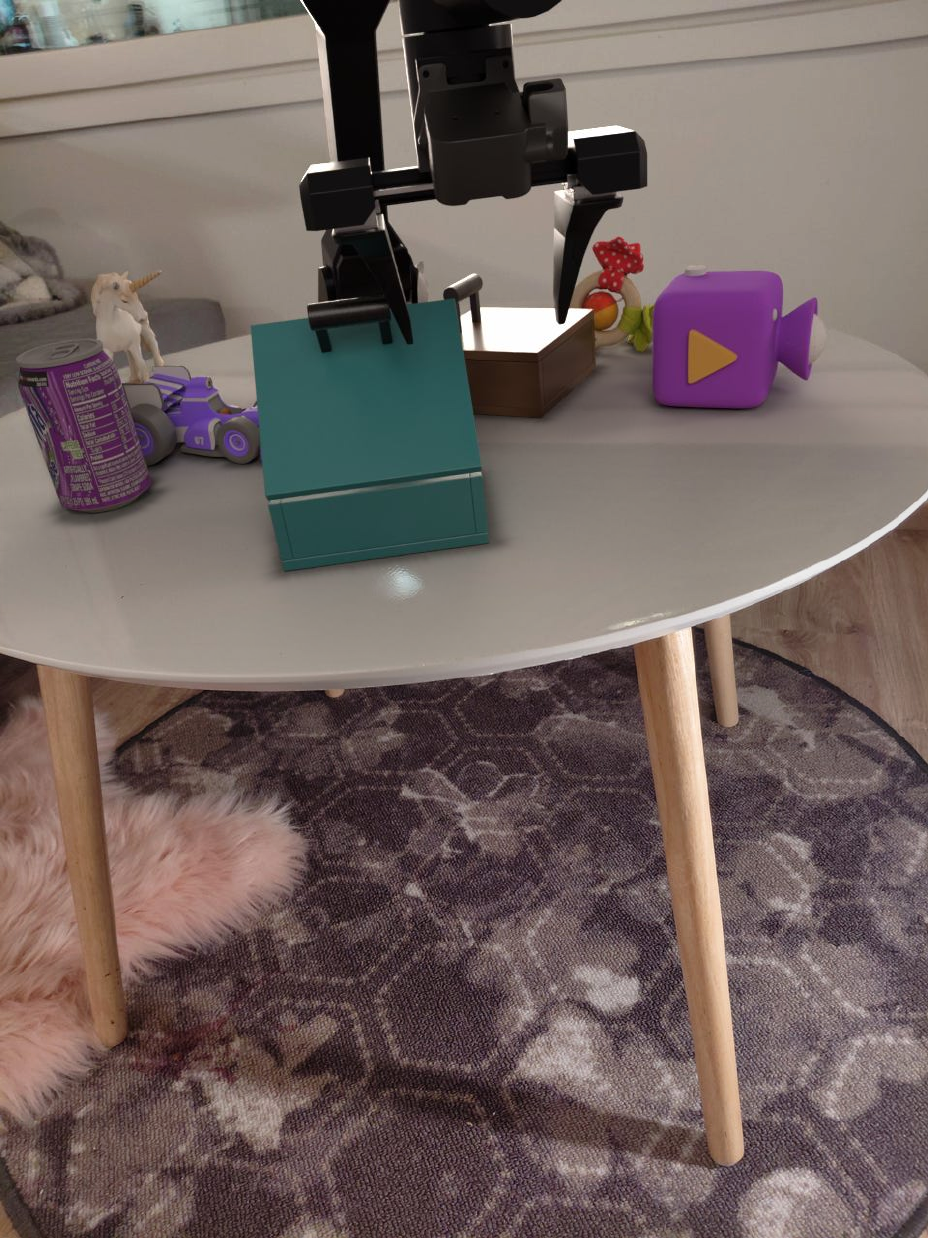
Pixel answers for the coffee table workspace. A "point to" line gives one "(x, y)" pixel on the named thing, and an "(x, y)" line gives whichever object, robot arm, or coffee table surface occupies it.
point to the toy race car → (190, 418)
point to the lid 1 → (362, 398)
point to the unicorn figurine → (124, 321)
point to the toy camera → (728, 338)
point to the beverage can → (83, 425)
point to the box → (532, 378)
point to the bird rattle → (616, 266)
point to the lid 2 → (510, 327)
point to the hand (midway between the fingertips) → (485, 332)
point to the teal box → (380, 521)
